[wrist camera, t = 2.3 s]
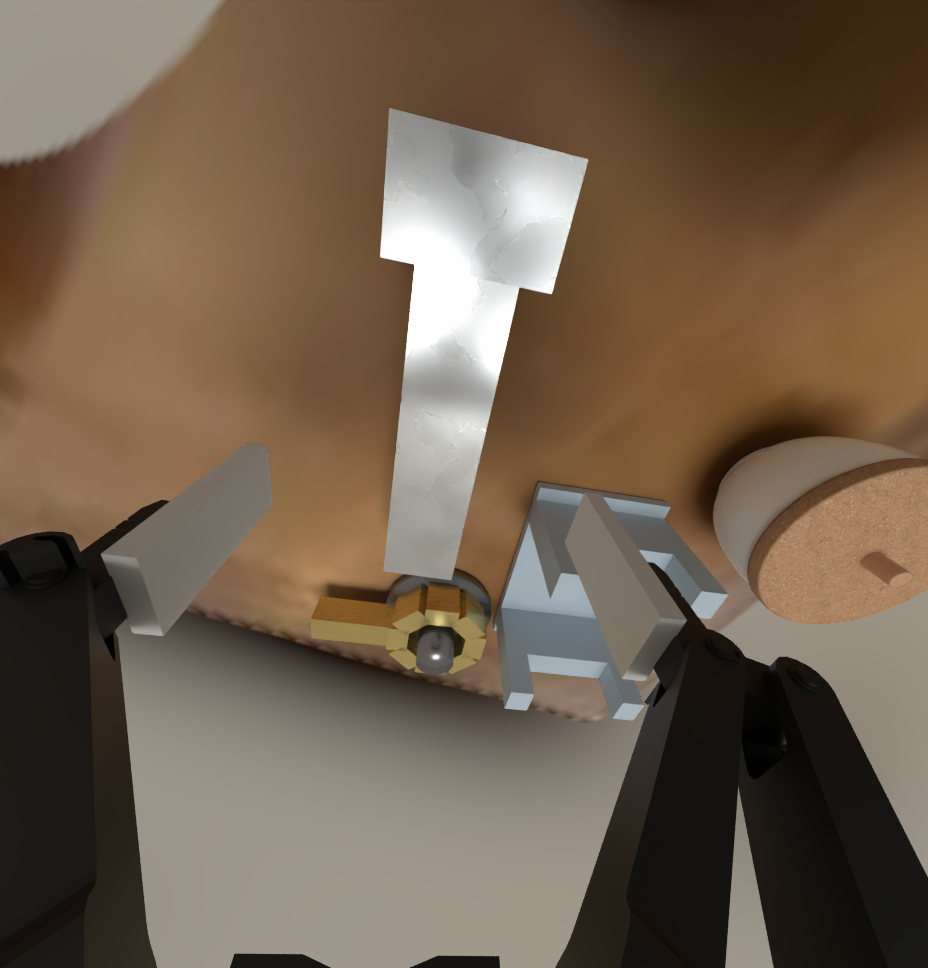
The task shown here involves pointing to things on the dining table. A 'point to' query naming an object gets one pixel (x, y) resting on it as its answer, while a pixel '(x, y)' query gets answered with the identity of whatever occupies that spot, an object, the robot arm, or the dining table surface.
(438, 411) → the white t-shaped plate
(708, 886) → the robot arm
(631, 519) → the rack
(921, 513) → the lidded jar
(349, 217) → the dining table surface
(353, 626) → the gold box wrench
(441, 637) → the nut base
